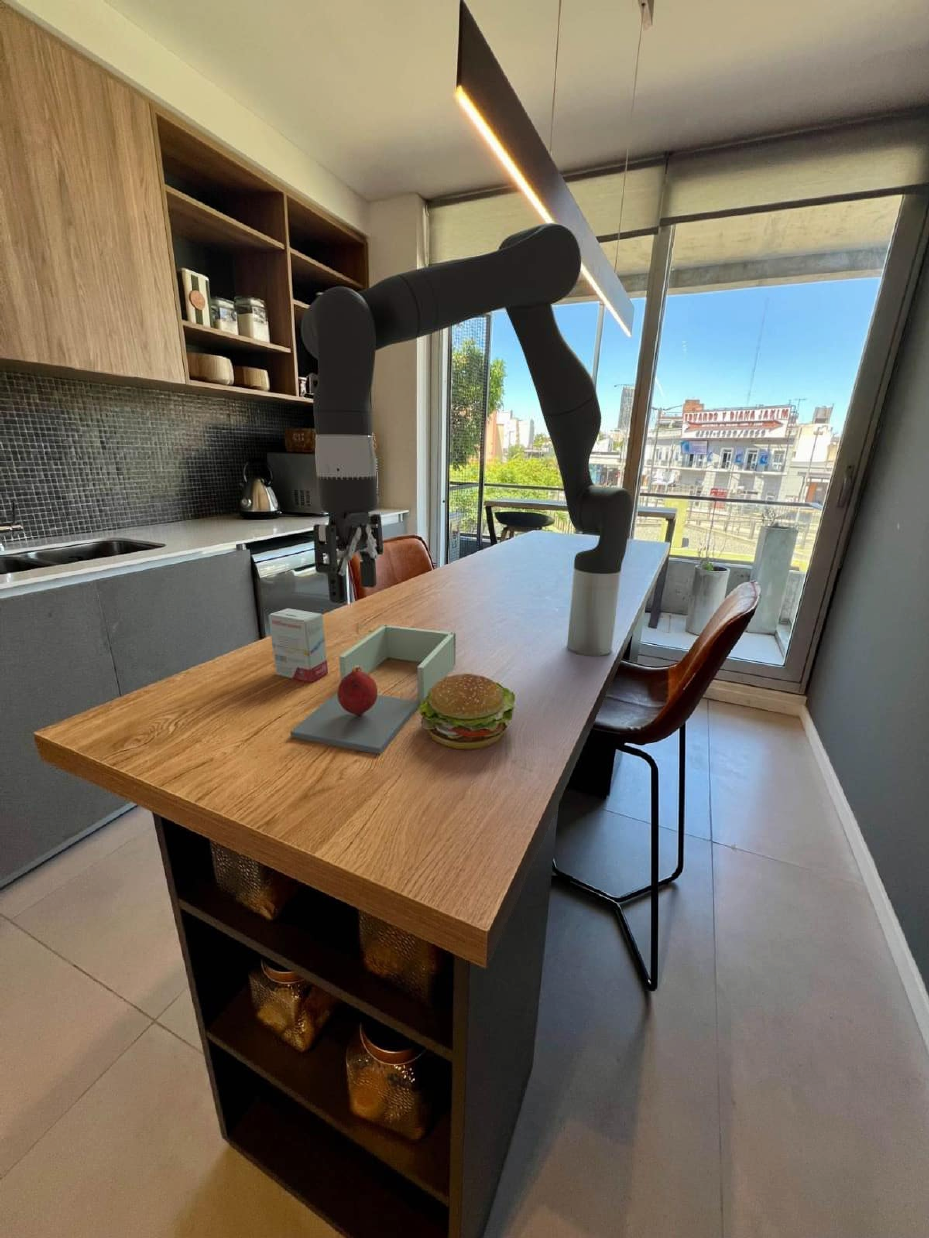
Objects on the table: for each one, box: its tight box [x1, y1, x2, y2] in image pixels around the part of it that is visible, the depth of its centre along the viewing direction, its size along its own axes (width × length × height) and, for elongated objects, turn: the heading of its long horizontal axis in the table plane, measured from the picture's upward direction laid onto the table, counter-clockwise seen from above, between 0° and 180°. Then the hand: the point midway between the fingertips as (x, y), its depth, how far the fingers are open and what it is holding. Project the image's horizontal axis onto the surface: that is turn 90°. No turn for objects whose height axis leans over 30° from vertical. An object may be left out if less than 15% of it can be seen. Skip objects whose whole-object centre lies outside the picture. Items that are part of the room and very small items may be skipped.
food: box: [416, 673, 516, 750], centre depth 71 cm, size 14×14×8 cm
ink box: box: [268, 608, 329, 683], centre depth 88 cm, size 9×5×12 cm, turn 65°
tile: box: [289, 691, 420, 756], centre depth 74 cm, size 14×14×1 cm
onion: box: [337, 665, 378, 716], centre depth 73 cm, size 6×6×8 cm
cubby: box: [338, 624, 457, 705], centre depth 88 cm, size 17×15×6 cm
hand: (354, 594), depth 68 cm, fingers open, 8 cm apart
